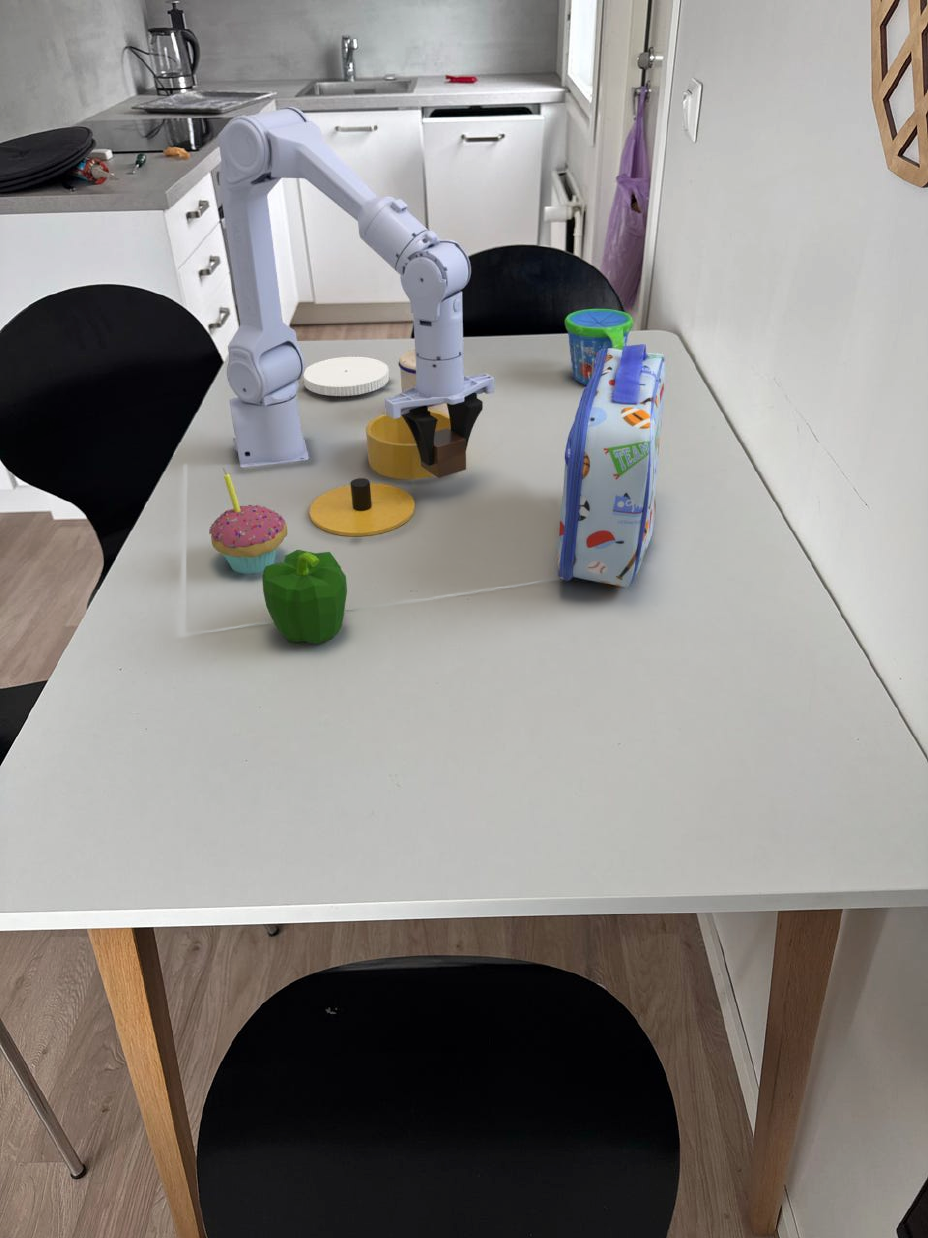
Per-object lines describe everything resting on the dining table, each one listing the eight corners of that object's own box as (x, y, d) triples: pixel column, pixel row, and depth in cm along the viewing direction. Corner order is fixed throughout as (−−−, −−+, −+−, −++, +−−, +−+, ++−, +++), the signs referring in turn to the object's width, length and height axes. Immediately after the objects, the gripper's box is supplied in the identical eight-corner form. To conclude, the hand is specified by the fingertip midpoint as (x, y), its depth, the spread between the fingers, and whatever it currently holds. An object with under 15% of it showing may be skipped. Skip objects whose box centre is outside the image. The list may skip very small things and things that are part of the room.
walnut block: (438, 478, 118) (437, 447, 116) (420, 466, 121) (419, 435, 119) (466, 469, 120) (465, 438, 118) (448, 458, 123) (447, 427, 121)
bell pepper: (264, 618, 101) (249, 536, 95) (339, 602, 103) (329, 521, 97) (279, 663, 94) (265, 578, 88) (359, 644, 96) (350, 560, 91)
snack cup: (550, 366, 162) (552, 306, 156) (609, 360, 163) (613, 300, 158) (580, 399, 149) (583, 335, 143) (643, 392, 151) (648, 329, 145)
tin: (377, 487, 125) (374, 450, 122) (363, 450, 135) (360, 414, 132) (466, 476, 128) (465, 439, 125) (446, 440, 137) (445, 405, 134)
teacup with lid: (463, 426, 141) (461, 349, 135) (402, 429, 141) (397, 352, 134) (457, 396, 151) (455, 323, 145) (400, 399, 151) (395, 326, 144)
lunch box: (576, 487, 124) (584, 319, 112) (656, 493, 122) (674, 322, 110) (548, 602, 102) (555, 408, 90) (646, 611, 100) (667, 414, 88)
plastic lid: (298, 377, 160) (296, 362, 159) (379, 366, 163) (377, 352, 162) (312, 406, 149) (310, 391, 148) (398, 395, 152) (397, 379, 151)
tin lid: (316, 547, 113) (311, 513, 110) (305, 497, 124) (301, 466, 121) (424, 532, 115) (422, 499, 113) (405, 485, 126) (403, 453, 123)
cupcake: (201, 574, 108) (181, 479, 101) (248, 541, 114) (232, 449, 108) (261, 592, 105) (244, 495, 98) (306, 557, 111) (293, 463, 104)
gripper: (403, 374, 106) (409, 484, 114) (508, 349, 113) (507, 454, 120) (373, 357, 111) (381, 463, 119) (475, 333, 117) (476, 435, 125)
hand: (442, 457), depth 120 cm, fingers closed on walnut block, 4 cm apart
